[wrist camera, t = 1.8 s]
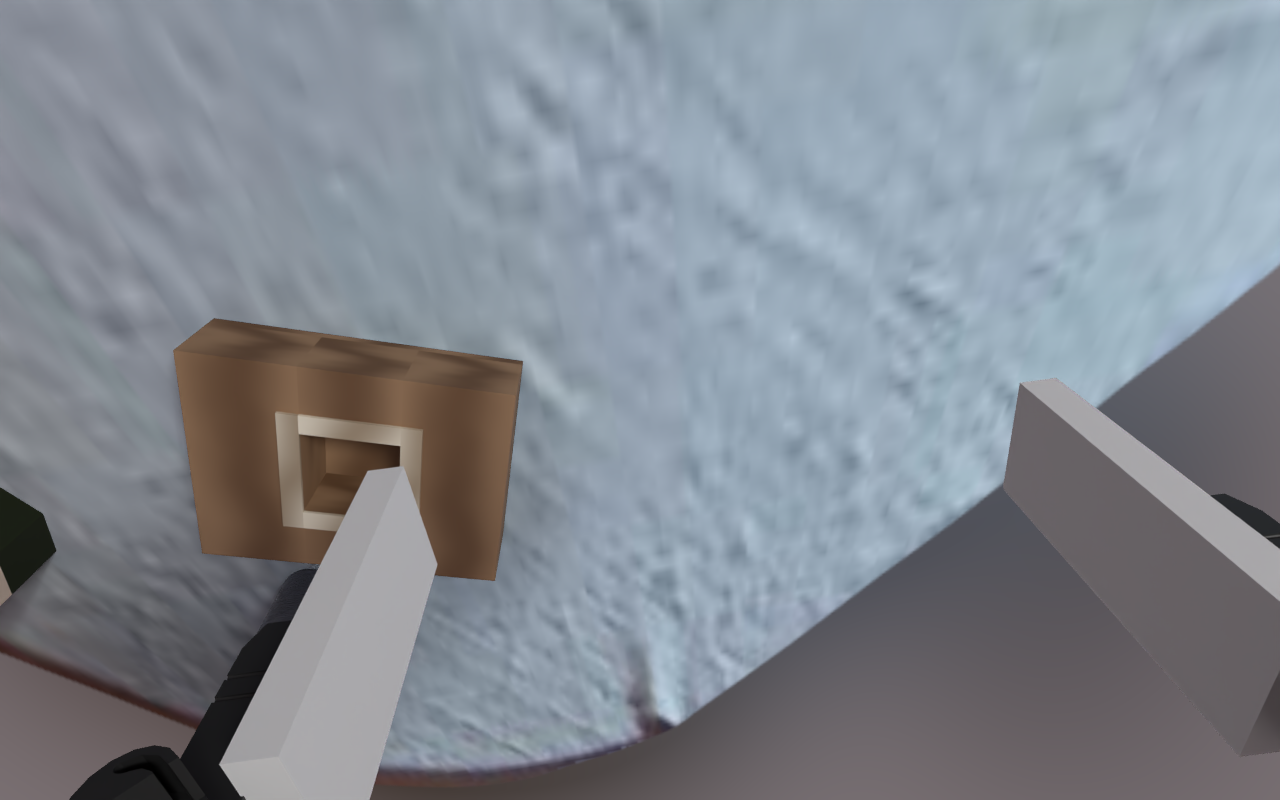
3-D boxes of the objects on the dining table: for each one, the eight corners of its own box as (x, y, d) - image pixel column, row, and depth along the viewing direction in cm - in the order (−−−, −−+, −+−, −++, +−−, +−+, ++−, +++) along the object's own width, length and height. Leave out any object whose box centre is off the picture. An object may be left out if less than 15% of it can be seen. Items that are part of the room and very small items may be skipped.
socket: (234, 508, 47) (200, 555, 43) (214, 318, 41) (171, 351, 36) (502, 536, 50) (494, 583, 45) (522, 361, 43) (515, 397, 39)
